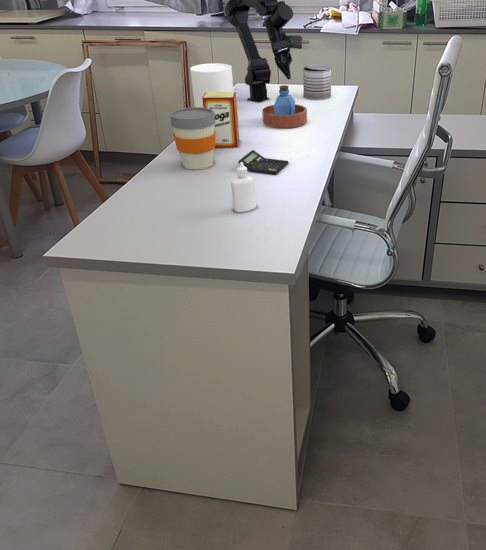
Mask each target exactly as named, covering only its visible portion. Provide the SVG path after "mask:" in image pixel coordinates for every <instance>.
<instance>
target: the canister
mask: <svg viewBox="0 0 486 550" xmlns="http://www.w3.org/2000/svg"><path fill="white" fill-rule="evenodd" d="M232 67H233V66H232V65H230V64H227V63H217V62H216V63H215V62H213V63H212V62H211V63H202V64H195V65H193V66H191V67H190V70H189V71H190V79H191V87H192V97H193V107H202V108H203V100H202V97H203V96H204V94H205V92H216V91H220V92H235V91H234V80H233V79H234V78H233V68H232Z"/></svg>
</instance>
